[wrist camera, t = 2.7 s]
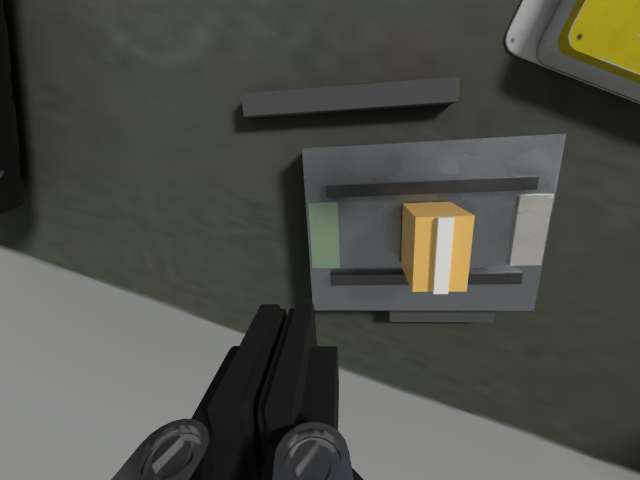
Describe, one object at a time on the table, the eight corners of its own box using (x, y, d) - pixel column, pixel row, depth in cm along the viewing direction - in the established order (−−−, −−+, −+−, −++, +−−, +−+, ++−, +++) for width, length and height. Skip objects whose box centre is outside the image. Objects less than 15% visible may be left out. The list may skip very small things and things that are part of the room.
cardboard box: (450, 201, 19) (477, 216, 15) (445, 264, 21) (469, 294, 17) (402, 203, 20) (416, 218, 16) (400, 265, 21) (413, 294, 17)
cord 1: (453, 81, 20) (460, 76, 18) (451, 104, 20) (458, 101, 19) (247, 96, 21) (241, 93, 20) (250, 117, 22) (243, 116, 20)
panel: (540, 134, 20) (573, 133, 17) (515, 293, 24) (539, 315, 21) (307, 148, 22) (300, 148, 19) (316, 294, 25) (312, 314, 22)
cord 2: (488, 297, 24) (496, 306, 23) (486, 312, 24) (494, 322, 23) (388, 297, 25) (390, 306, 24) (387, 312, 25) (389, 321, 24)
